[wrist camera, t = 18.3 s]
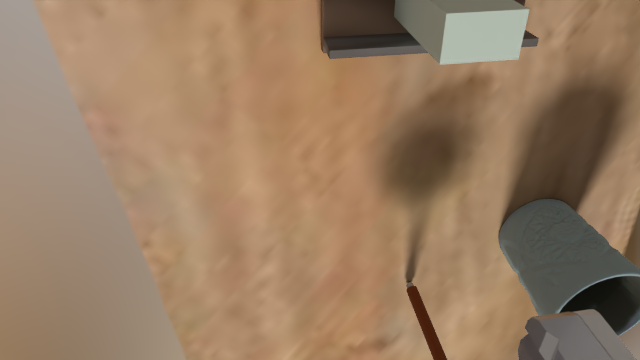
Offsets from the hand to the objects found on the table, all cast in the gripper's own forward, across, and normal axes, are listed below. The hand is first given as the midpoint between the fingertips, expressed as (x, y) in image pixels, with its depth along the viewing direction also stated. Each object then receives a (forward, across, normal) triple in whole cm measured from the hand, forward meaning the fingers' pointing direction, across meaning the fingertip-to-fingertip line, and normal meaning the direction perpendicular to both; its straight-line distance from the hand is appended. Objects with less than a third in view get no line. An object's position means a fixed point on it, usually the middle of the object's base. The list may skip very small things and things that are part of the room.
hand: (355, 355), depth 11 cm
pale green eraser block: (+30, -12, 0) cm, 32 cm away
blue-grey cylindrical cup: (+31, -28, +26) cm, 49 cm away
